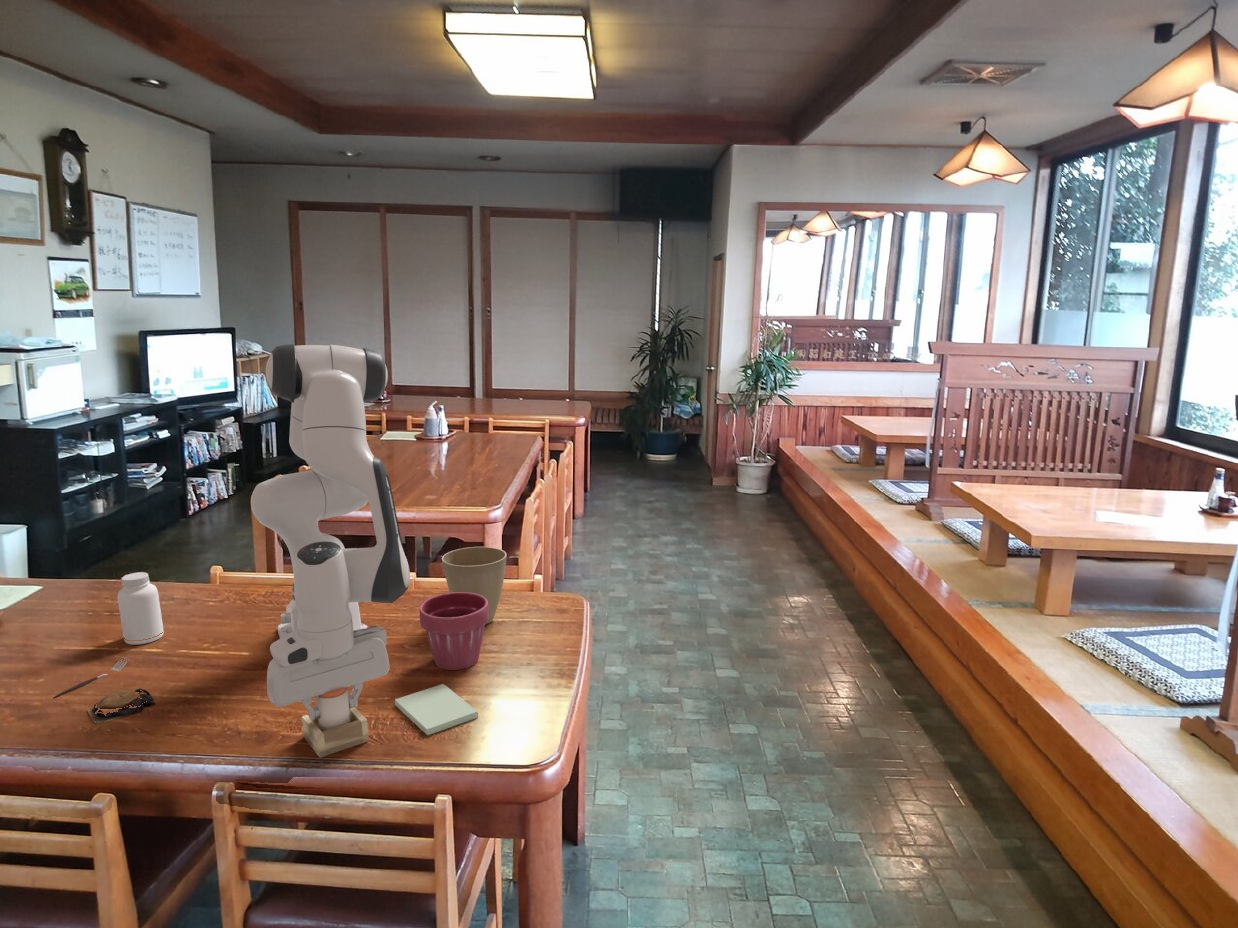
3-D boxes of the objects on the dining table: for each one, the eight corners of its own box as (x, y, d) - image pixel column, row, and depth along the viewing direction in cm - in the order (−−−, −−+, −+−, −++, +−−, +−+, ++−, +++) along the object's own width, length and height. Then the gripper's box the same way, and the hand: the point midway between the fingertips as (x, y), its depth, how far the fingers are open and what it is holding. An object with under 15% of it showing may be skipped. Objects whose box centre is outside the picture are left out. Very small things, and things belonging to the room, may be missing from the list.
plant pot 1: (520, 622, 196) (517, 557, 193) (461, 638, 188) (457, 570, 185) (492, 603, 208) (489, 542, 205) (435, 617, 200) (431, 553, 197)
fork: (49, 699, 163) (47, 689, 163) (123, 665, 178) (121, 656, 177) (58, 701, 162) (56, 691, 162) (131, 666, 177) (130, 657, 177)
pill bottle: (115, 642, 188) (106, 579, 185) (147, 629, 196) (138, 568, 192) (141, 647, 185) (131, 583, 182) (172, 634, 193) (163, 572, 189)
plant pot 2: (477, 678, 169) (474, 618, 166) (411, 673, 171) (407, 614, 168) (499, 648, 182) (497, 593, 180) (438, 644, 185) (435, 589, 182)
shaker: (315, 732, 147) (311, 685, 145) (345, 723, 150) (340, 676, 148) (325, 745, 143) (321, 696, 141) (355, 734, 146) (351, 687, 144)
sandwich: (95, 729, 152) (92, 710, 152) (86, 712, 159) (83, 694, 158) (159, 709, 159) (157, 691, 158) (148, 693, 165) (145, 676, 165)
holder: (303, 737, 147) (301, 716, 147) (351, 721, 152) (349, 701, 152) (319, 757, 141) (317, 736, 140) (368, 740, 146) (367, 719, 145)
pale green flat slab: (395, 705, 158) (394, 699, 158) (443, 689, 164) (443, 683, 164) (427, 735, 147) (426, 729, 147) (478, 717, 153) (477, 711, 153)
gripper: (378, 617, 151) (383, 687, 154) (259, 647, 139) (268, 723, 142) (392, 628, 146) (397, 700, 149) (270, 660, 134) (279, 739, 137)
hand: (333, 712), depth 146 cm, fingers closed on shaker, 5 cm apart
